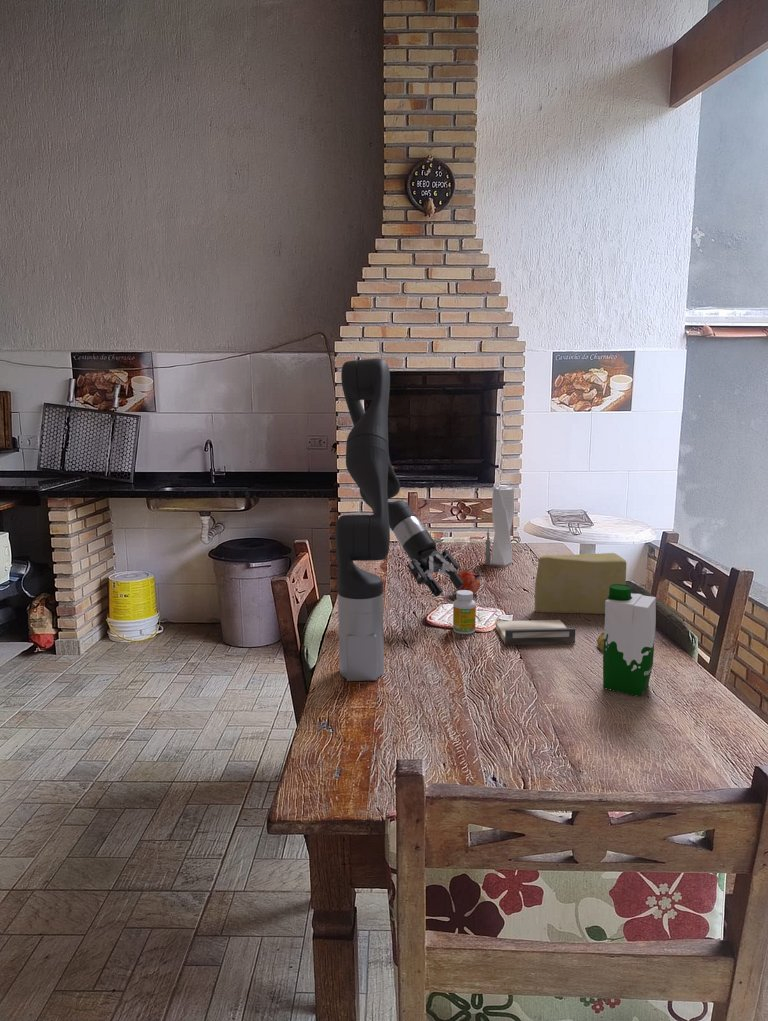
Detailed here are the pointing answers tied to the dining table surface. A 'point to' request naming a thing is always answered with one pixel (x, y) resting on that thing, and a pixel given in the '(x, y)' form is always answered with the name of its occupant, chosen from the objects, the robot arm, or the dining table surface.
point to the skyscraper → (501, 526)
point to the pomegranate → (469, 581)
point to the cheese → (577, 582)
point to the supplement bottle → (464, 612)
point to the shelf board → (535, 632)
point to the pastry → (601, 641)
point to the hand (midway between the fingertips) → (450, 590)
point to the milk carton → (628, 640)
